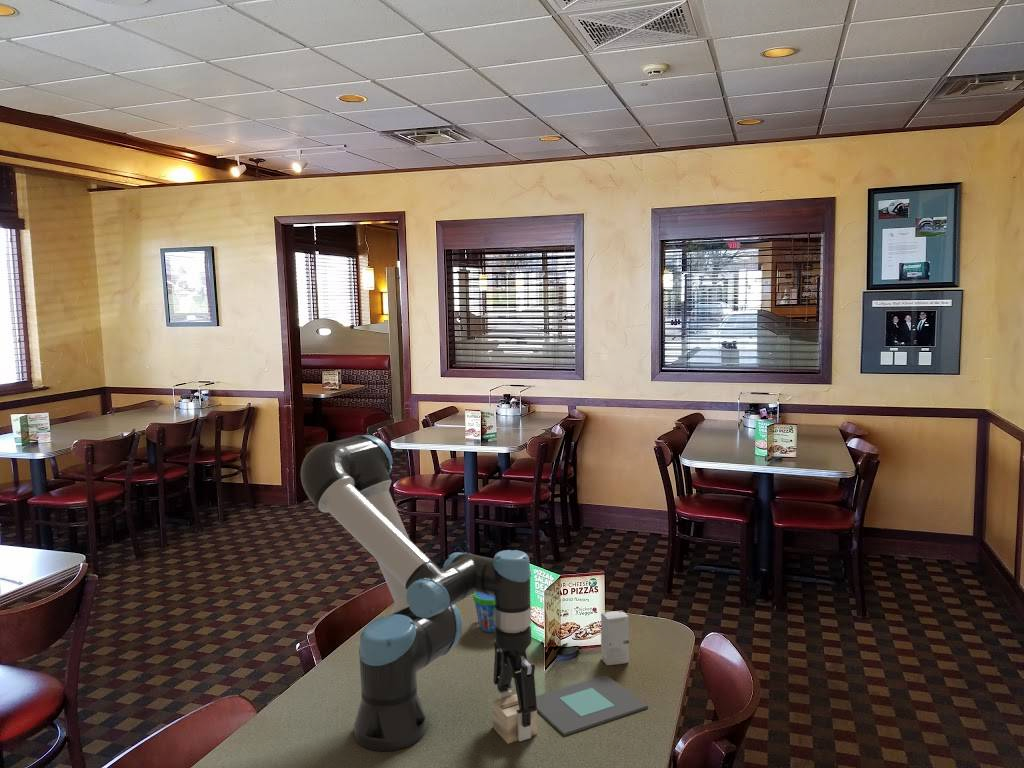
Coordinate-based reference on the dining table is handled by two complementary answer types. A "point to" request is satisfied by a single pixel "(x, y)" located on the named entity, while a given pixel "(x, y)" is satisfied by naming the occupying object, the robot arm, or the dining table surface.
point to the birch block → (509, 718)
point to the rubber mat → (587, 704)
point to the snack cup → (485, 611)
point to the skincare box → (614, 637)
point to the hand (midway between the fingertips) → (515, 729)
